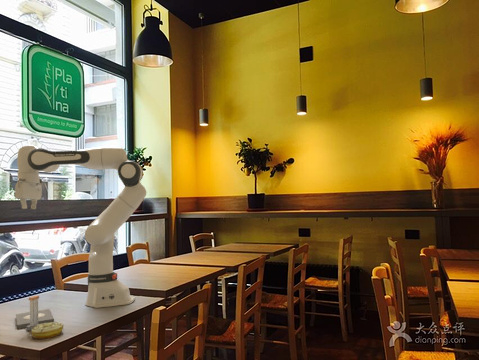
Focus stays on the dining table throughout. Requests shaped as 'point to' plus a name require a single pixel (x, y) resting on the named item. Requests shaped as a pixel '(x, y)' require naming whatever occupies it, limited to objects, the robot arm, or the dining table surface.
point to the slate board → (43, 317)
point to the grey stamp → (33, 313)
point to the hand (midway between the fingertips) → (29, 208)
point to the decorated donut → (47, 330)
